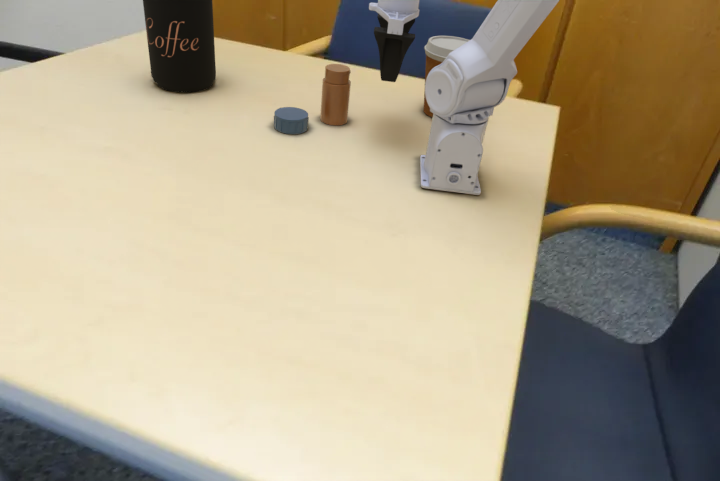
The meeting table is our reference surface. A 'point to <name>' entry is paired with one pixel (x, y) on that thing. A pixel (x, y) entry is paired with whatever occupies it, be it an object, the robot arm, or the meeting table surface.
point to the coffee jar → (181, 44)
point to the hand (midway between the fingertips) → (389, 72)
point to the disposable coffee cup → (439, 56)
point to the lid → (291, 120)
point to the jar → (335, 94)
